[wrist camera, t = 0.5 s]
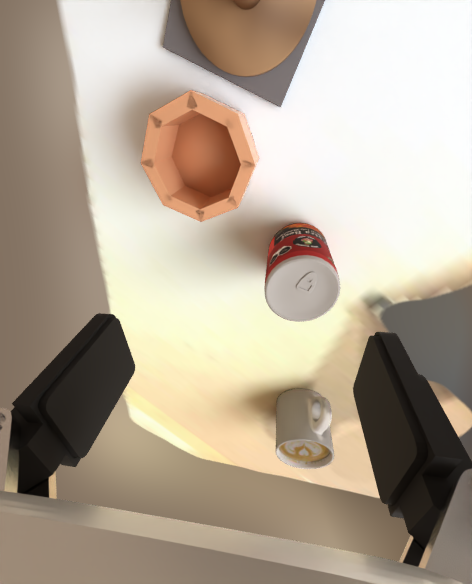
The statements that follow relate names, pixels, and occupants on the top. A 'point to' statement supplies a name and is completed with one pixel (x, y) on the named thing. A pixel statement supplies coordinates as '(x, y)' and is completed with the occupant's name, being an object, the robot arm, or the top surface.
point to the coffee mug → (304, 429)
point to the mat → (262, 85)
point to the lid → (247, 31)
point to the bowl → (199, 155)
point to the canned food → (300, 274)
